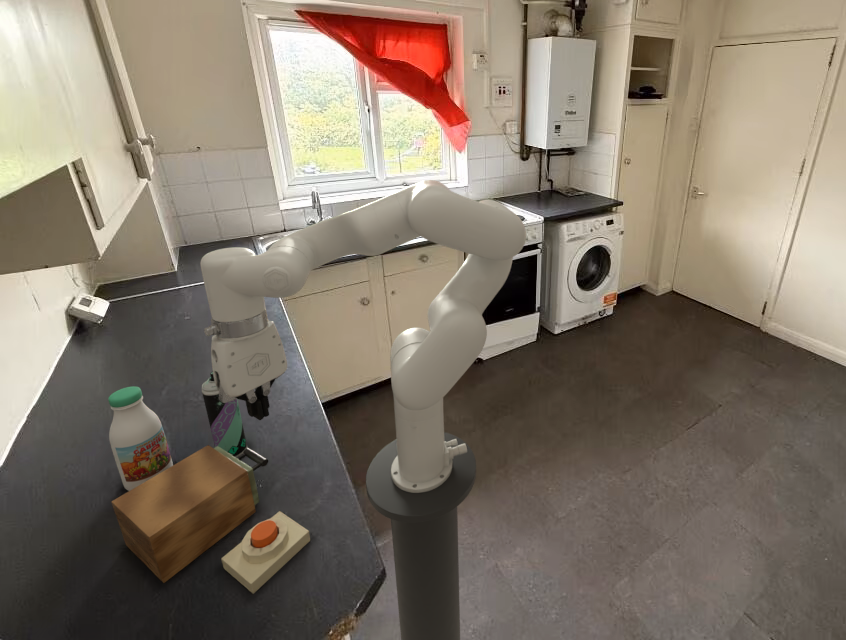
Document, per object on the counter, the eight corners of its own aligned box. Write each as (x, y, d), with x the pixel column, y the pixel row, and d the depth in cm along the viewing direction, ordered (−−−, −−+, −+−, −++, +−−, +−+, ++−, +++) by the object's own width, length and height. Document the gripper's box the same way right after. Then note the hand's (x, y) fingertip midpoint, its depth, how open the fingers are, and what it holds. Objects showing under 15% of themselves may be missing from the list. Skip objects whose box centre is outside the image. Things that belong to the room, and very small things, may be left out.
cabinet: (217, 484, 84) (208, 444, 81) (256, 511, 78) (247, 470, 75) (126, 545, 71) (110, 501, 68) (163, 583, 66) (149, 537, 63)
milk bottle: (113, 493, 81) (83, 406, 75) (145, 462, 88) (120, 380, 82) (154, 493, 81) (128, 405, 75) (183, 462, 89) (161, 380, 82)
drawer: (246, 463, 88) (239, 432, 85) (280, 485, 82) (274, 453, 80) (142, 532, 73) (131, 496, 70) (177, 564, 68) (166, 527, 65)
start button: (269, 524, 72) (267, 516, 71) (282, 534, 70) (280, 526, 70) (247, 541, 69) (245, 533, 68) (261, 552, 67) (259, 544, 67)
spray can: (211, 457, 90) (191, 376, 84) (234, 440, 95) (217, 362, 89) (230, 464, 88) (212, 382, 82) (253, 446, 93) (237, 367, 87)
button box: (281, 520, 76) (278, 502, 75) (310, 540, 73) (307, 522, 72) (223, 568, 68) (218, 550, 67) (253, 594, 64) (248, 575, 63)
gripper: (202, 348, 62) (226, 450, 67) (297, 311, 74) (311, 400, 79) (178, 335, 65) (202, 432, 71) (272, 302, 78) (287, 387, 83)
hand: (259, 415), depth 75 cm, fingers closed
